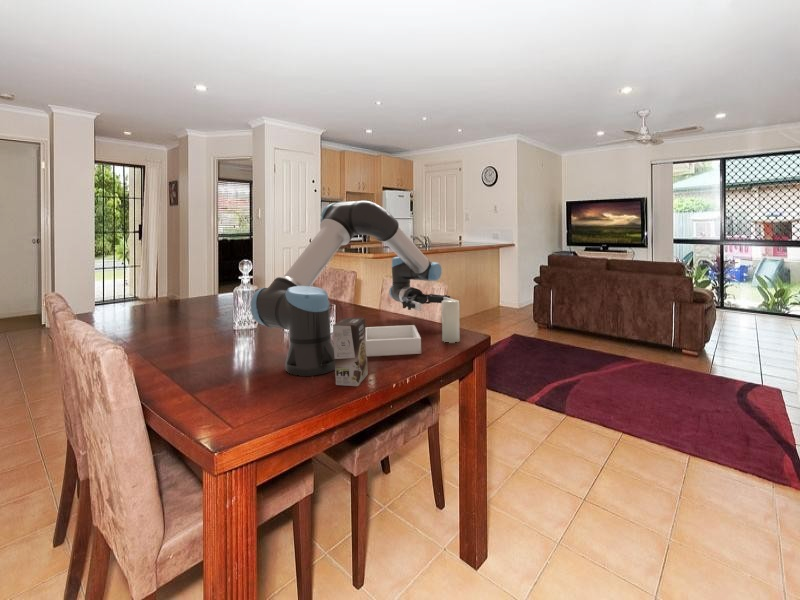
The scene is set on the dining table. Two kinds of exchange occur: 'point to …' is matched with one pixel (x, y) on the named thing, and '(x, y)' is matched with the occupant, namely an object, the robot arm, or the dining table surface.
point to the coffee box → (350, 351)
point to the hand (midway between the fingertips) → (437, 305)
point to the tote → (392, 340)
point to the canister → (450, 321)
